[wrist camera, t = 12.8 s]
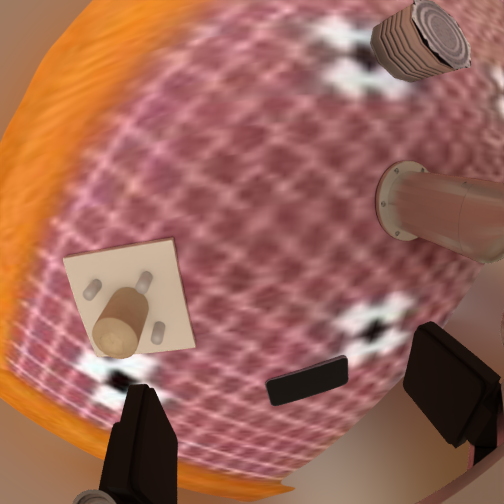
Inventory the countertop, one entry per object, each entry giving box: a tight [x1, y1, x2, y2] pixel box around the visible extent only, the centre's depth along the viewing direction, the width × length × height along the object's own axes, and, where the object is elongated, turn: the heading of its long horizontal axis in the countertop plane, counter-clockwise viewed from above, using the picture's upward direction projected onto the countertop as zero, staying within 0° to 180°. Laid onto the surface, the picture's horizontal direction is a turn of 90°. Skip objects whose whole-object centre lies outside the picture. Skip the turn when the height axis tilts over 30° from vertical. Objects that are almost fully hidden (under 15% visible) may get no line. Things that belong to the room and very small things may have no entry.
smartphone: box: [265, 355, 349, 406], centre depth 47 cm, size 7×1×15 cm
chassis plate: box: [63, 237, 196, 357], centre depth 36 cm, size 16×16×5 cm
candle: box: [92, 287, 149, 359], centre depth 32 cm, size 6×6×10 cm
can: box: [370, 0, 471, 82], centre depth 28 cm, size 11×11×12 cm
